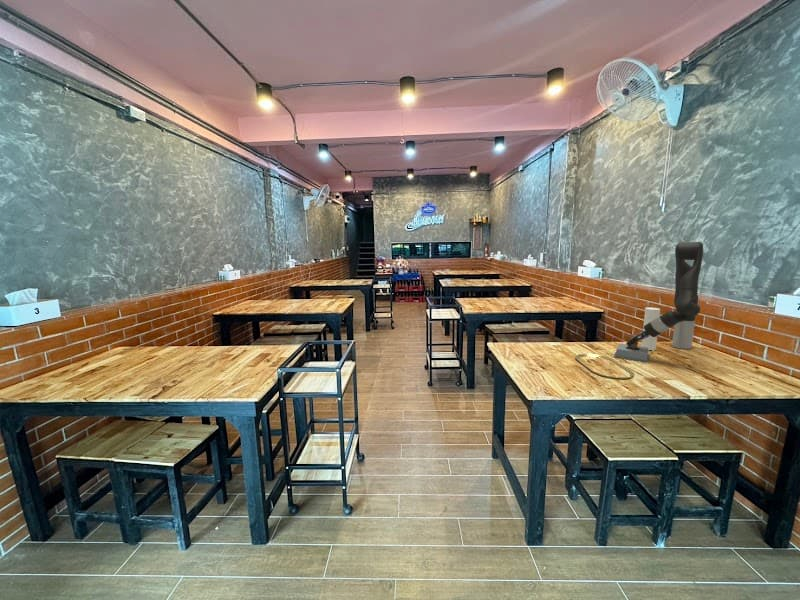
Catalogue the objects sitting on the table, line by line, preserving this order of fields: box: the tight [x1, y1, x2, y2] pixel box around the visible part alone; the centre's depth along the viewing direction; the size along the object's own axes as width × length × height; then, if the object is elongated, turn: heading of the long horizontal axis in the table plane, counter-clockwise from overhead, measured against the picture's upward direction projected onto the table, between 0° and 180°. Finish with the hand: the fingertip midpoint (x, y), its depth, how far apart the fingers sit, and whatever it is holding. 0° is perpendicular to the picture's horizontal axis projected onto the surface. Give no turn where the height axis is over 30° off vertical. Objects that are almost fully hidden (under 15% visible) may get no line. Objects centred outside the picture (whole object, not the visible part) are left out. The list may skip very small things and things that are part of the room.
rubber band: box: [575, 353, 635, 380], centre depth 174 cm, size 19×35×2 cm, turn 176°
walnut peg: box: [628, 333, 639, 350], centre depth 188 cm, size 4×4×10 cm
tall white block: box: [640, 307, 661, 351], centre depth 200 cm, size 7×7×25 cm
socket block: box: [613, 343, 651, 363], centre depth 189 cm, size 16×16×5 cm
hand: (629, 343), depth 190 cm, fingers closed on walnut peg, 4 cm apart
